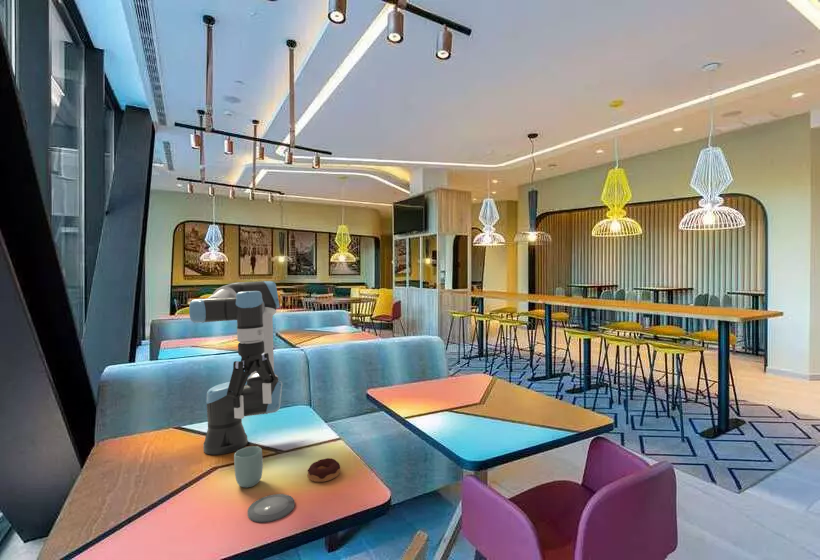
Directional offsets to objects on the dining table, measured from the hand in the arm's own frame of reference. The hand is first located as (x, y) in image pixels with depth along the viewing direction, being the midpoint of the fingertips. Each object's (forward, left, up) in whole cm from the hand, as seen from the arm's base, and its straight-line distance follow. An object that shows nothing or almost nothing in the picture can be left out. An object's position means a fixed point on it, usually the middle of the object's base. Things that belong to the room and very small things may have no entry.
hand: (254, 410), depth 125 cm
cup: (-1, -2, -22) cm, 22 cm away
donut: (+19, +8, -22) cm, 30 cm away
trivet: (+14, -12, -22) cm, 29 cm away
